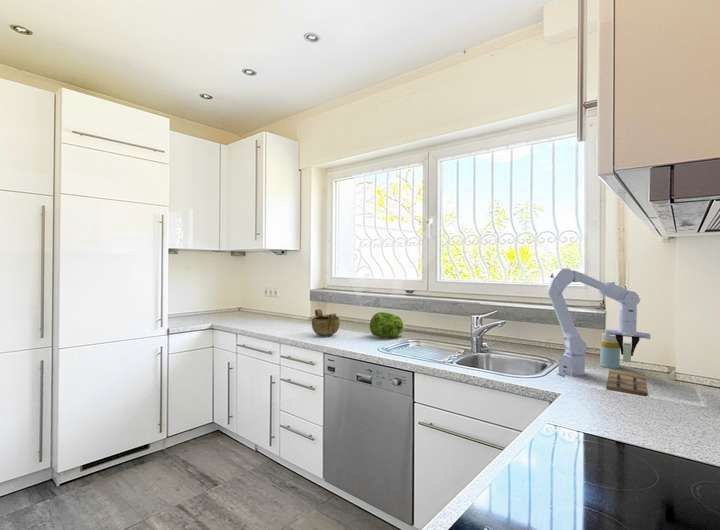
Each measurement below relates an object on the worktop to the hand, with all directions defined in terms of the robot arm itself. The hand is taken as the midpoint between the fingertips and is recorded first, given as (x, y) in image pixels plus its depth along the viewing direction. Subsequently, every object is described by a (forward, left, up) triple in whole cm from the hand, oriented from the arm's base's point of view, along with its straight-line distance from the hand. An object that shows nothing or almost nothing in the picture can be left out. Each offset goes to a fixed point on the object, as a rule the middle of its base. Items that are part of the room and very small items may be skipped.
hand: (627, 354), depth 152 cm
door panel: (0, 0, -2) cm, 2 cm away
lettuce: (-50, +107, -10) cm, 119 cm away
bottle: (+7, +11, -10) cm, 17 cm away
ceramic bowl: (-83, +126, -10) cm, 152 cm away
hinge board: (-6, -4, -10) cm, 12 cm away
